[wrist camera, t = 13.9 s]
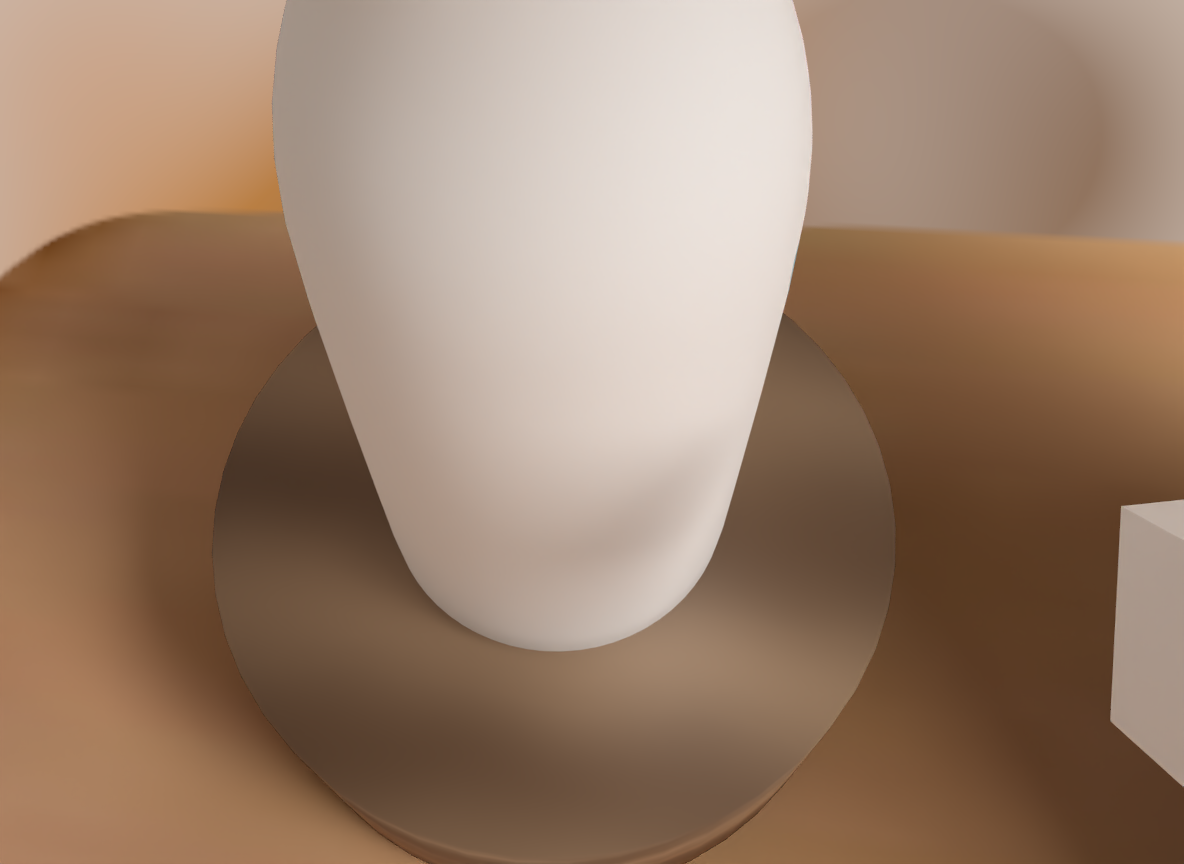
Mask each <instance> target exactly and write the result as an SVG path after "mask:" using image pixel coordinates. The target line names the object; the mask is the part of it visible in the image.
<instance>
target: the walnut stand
mask: <svg viewBox="0 0 1184 864" xmlns="http://www.w3.org/2000/svg"><path fill="white" fill-rule="evenodd" d="M895 534H896V525H895V517H894V510H893V502H892V495H891V487H890V483H889V479H888V475H887V472H886V468H885V465H884V461H883V458H882V454H881V450H880V447H879V445H878V442H877V440H876V438H875V435H874V433H873V431H872V428H871V426H870V424H869V422H868V419H867V417H866V415H865V412H864V410H863V409H862V407H861V405H860V404H859V402H858V400H857V399H856V397H855V395H854V394H853V392H852V390H851V389H850V387H849V385H848V384H847V382H846V380H845V379H844V377H843V376H842V375H841V373H840V372H839V371H838V370H837V368H836V367H835V366H834V365H833V363H832V362H831V361H830V360H829V358H828V357H827V356H826V354H825V353H824V352H823V351H822V349H821V348H820V347H819V346H818V345H817V344H816V343H815V342H814V341H813V340H812V339H811V338H810V337H809V336H808V335H807V334H806V333H805V332H804V331H803V330H802V329H801V328H800V327H799V326H798V325H797V324H796V323H795V322H794V321H793V320H791V319H790V318H789V317H787V316H786V315H785V314H784V313H783V314H782V318H781V321H780V325H779V329H778V333H777V336H776V340H775V344H774V348H773V351H772V355H771V359H770V363H769V366H768V370H767V374H766V378H765V381H764V385H763V389H762V393H761V396H760V400H759V403H758V407H757V410H756V414H755V417H754V421H753V425H752V428H751V432H750V435H749V439H748V442H747V446H746V449H745V453H744V456H743V460H742V463H741V467H740V470H739V474H738V478H737V481H736V485H735V488H734V492H733V495H732V498H731V502H730V505H729V509H728V512H727V516H726V519H725V522H724V526H723V529H722V532H721V534H720V537H719V540H718V542H717V545H716V547H715V550H714V552H713V555H712V557H711V560H710V561H709V563H708V565H707V567H706V569H705V571H704V573H703V574H702V576H701V577H700V579H699V580H698V582H697V583H696V584H695V586H694V587H693V588H692V589H691V591H690V592H689V593H688V594H687V595H686V597H685V598H684V599H683V600H682V601H681V602H680V603H679V604H678V605H676V606H675V607H674V608H673V609H672V610H671V611H670V612H668V613H667V614H666V615H665V616H663V617H662V618H661V619H660V620H658V621H656V622H655V623H653V624H652V625H650V626H648V627H647V628H645V629H643V630H641V631H639V632H637V633H635V634H633V635H631V636H629V637H627V638H624V639H621V640H619V641H616V642H614V643H610V644H606V645H603V646H599V647H595V648H589V649H583V650H575V651H538V650H529V649H524V648H519V647H514V646H510V645H507V644H504V643H500V642H497V641H494V640H492V639H489V638H487V637H485V636H482V635H480V634H478V633H476V632H474V631H472V630H471V629H469V628H467V627H465V626H463V625H462V624H460V623H459V622H458V621H456V620H455V619H453V618H452V617H450V616H449V615H448V614H447V613H446V612H444V611H443V610H442V609H441V608H440V607H439V606H437V605H436V603H435V602H434V601H433V600H432V599H431V598H430V597H429V596H428V595H427V594H426V593H425V591H424V590H423V589H422V587H421V586H420V585H419V584H418V582H417V581H416V579H415V577H414V576H413V574H412V573H411V571H410V569H409V567H408V565H407V563H406V561H405V559H404V557H403V555H402V552H401V550H400V548H399V546H398V544H397V542H396V540H395V537H394V535H393V532H392V530H391V527H390V524H389V522H388V519H387V516H386V514H385V511H384V509H383V506H382V503H381V501H380V498H379V495H378V493H377V490H376V487H375V485H374V482H373V479H372V477H371V474H370V471H369V468H368V466H367V463H366V460H365V458H364V455H363V452H362V450H361V447H360V444H359V442H358V439H357V436H356V433H355V431H354V428H353V425H352V423H351V420H350V417H349V414H348V412H347V409H346V406H345V403H344V400H343V397H342V395H341V392H340V389H339V386H338V383H337V380H336V378H335V375H334V372H333V369H332V366H331V364H330V361H329V358H328V355H327V352H326V349H325V347H324V344H323V341H322V338H321V335H320V332H319V330H318V327H317V326H316V327H315V328H314V329H313V330H312V331H311V332H310V333H308V334H307V335H306V336H305V337H304V338H303V339H302V340H301V341H300V342H299V343H298V345H297V346H296V347H295V348H294V349H293V350H292V351H291V352H290V354H289V355H288V356H287V357H286V358H285V359H284V360H283V361H282V362H281V364H280V365H279V366H278V367H277V369H276V370H275V371H274V373H273V374H272V376H271V377H270V379H269V380H268V381H267V383H266V384H265V386H264V387H263V389H262V390H261V392H260V393H259V394H258V396H257V397H256V399H255V401H254V402H253V404H252V406H251V408H250V410H249V412H248V414H247V416H246V418H245V420H244V422H243V424H242V426H241V427H240V429H239V431H238V433H237V436H236V438H235V441H234V444H233V447H232V449H231V452H230V455H229V458H228V460H227V463H226V466H225V469H224V471H223V476H222V481H221V485H220V490H219V495H218V499H217V504H216V509H215V518H214V533H213V548H212V556H213V569H214V582H215V594H216V599H217V603H218V607H219V612H220V616H221V620H222V624H223V629H224V633H225V637H226V639H227V642H228V644H229V647H230V649H231V652H232V654H233V657H234V659H235V662H236V664H237V667H238V670H239V672H240V675H241V677H242V679H243V680H244V682H245V684H246V685H247V687H248V689H249V691H250V692H251V694H252V696H253V697H254V699H255V701H256V703H257V704H258V706H259V708H260V709H261V711H262V713H263V715H264V716H265V717H266V719H267V720H268V721H269V722H270V724H271V725H272V726H273V727H274V728H275V730H276V731H277V732H278V733H279V735H280V736H281V737H282V738H283V740H284V741H285V742H286V743H287V745H288V746H289V747H290V748H291V749H292V751H293V752H294V753H295V754H296V755H297V756H298V757H299V758H300V759H301V760H302V761H303V762H304V763H305V764H306V765H307V766H308V767H309V768H311V769H312V770H313V771H314V772H315V773H316V774H317V775H318V776H319V777H320V778H321V779H322V780H323V781H324V782H325V783H326V784H327V785H328V786H329V787H330V788H331V789H332V790H333V791H334V792H335V793H336V794H337V795H338V796H339V797H340V798H341V799H342V800H343V801H344V802H345V803H346V804H347V805H348V806H350V807H351V808H352V809H353V810H354V811H355V812H356V813H357V814H358V815H359V816H360V817H362V818H363V819H364V820H365V821H366V822H367V823H368V824H369V825H370V826H371V827H372V828H374V829H375V830H376V831H377V832H378V833H380V834H381V835H383V836H384V837H385V838H387V839H388V840H390V841H391V842H393V843H394V844H396V845H397V846H399V847H400V848H402V849H403V850H405V851H406V852H408V853H409V854H411V855H412V856H415V857H417V858H419V859H421V860H423V861H425V862H427V863H429V864H684V863H687V862H689V861H691V860H693V859H694V858H696V857H698V856H699V855H701V854H703V853H704V852H706V851H708V850H709V849H711V848H713V847H714V846H716V845H718V844H719V843H721V842H723V841H724V840H726V839H727V838H728V837H729V836H731V835H732V834H733V833H734V832H736V831H737V830H738V829H739V828H740V827H742V826H743V825H744V824H745V823H747V822H748V821H749V820H750V819H751V818H753V817H754V816H755V815H756V814H757V813H758V812H759V811H760V810H761V809H762V808H763V807H764V806H765V805H766V804H767V803H768V801H769V800H770V799H771V798H772V797H773V796H774V795H775V794H776V793H777V792H778V791H779V789H780V788H781V787H782V786H783V785H784V784H785V783H786V781H787V780H788V779H789V778H790V776H791V775H792V774H793V773H794V772H795V770H796V769H797V768H798V767H799V765H800V764H801V763H802V762H803V760H804V759H805V758H806V757H807V756H808V754H809V753H810V752H811V751H812V749H813V748H814V747H815V746H816V744H817V743H818V742H819V741H820V740H821V738H822V737H823V736H824V735H825V733H826V732H827V731H828V730H829V728H830V727H831V726H832V724H833V723H834V721H835V720H836V718H837V717H838V715H839V714H840V712H841V711H842V710H843V708H844V707H845V705H846V704H847V702H848V701H849V699H850V698H851V696H852V695H853V693H854V692H855V691H856V689H857V687H858V685H859V683H860V681H861V678H862V676H863V674H864V672H865V670H866V668H867V666H868V664H869V662H870V660H871V658H872V656H873V654H874V652H875V650H876V647H877V643H878V640H879V637H880V634H881V631H882V627H883V624H884V621H885V618H886V615H887V611H888V608H889V602H890V596H891V589H892V583H893V577H894V571H895Z"/></svg>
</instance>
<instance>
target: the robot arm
mask: <svg viewBox="0 0 1184 864" xmlns="http://www.w3.org/2000/svg"><path fill="white" fill-rule="evenodd" d="M1110 721H1111V722H1112V723H1113V724H1114V725H1115V726H1116V727H1117V728H1119V729H1120V730H1121V731H1122V732H1123V733H1124V734H1125V735H1126V736H1127V737H1128V738H1130V739H1131V740H1132V741H1133V742H1134V743H1135V744H1136V745H1137V746H1138V747H1140V748H1141V749H1142V750H1143V751H1144V752H1145V753H1146V754H1147V755H1148V756H1150V757H1151V758H1152V759H1153V760H1154V761H1155V762H1156V763H1157V764H1158V765H1159V766H1161V767H1162V768H1163V769H1164V770H1165V771H1166V772H1167V773H1168V774H1169V775H1171V776H1172V777H1173V778H1174V779H1175V780H1176V781H1177V782H1178V783H1179V784H1181V785H1182V786H1183V787H1184V500H1175V501H1165V502H1156V503H1147V504H1137V505H1128V506H1121V520H1120V540H1119V559H1118V579H1117V599H1116V618H1115V638H1114V658H1113V678H1112V697H1111V717H1110Z"/></svg>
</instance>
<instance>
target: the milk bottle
mask: <svg viewBox="0 0 1184 864" xmlns="http://www.w3.org/2000/svg"><path fill="white" fill-rule="evenodd" d="M272 114H273V140H274V159H275V165H276V171H277V177H278V183H279V189H280V195H281V201H282V207H283V212H284V217H285V223H286V226H287V230H288V233H289V236H290V240H291V243H292V247H293V250H294V253H295V257H296V260H297V263H298V267H299V270H300V273H301V277H302V280H303V283H304V287H305V290H306V293H307V297H308V300H309V303H310V306H311V309H312V312H313V315H314V318H315V321H316V324H317V327H318V330H319V332H320V335H321V338H322V341H323V344H324V347H325V349H326V352H327V355H328V358H329V361H330V364H331V366H332V369H333V372H334V375H335V378H336V380H337V383H338V386H339V389H340V392H341V395H342V397H343V400H344V403H345V406H346V409H347V412H348V414H349V417H350V420H351V423H352V425H353V428H354V431H355V433H356V436H357V439H358V442H359V444H360V447H361V450H362V452H363V455H364V458H365V460H366V463H367V466H368V468H369V471H370V474H371V477H372V479H373V482H374V485H375V487H376V490H377V493H378V495H379V498H380V501H381V503H382V506H383V509H384V511H385V514H386V516H387V519H388V522H389V524H390V527H391V530H392V532H393V535H394V537H395V540H396V542H397V544H398V546H399V548H400V550H401V552H402V555H403V557H404V559H405V561H406V563H407V565H408V567H409V569H410V571H411V573H412V574H413V576H414V577H415V579H416V581H417V582H418V584H419V585H420V586H421V587H422V589H423V590H424V591H425V593H426V594H427V595H428V596H429V597H430V598H431V599H432V600H433V601H434V602H435V603H436V605H437V606H439V607H440V608H441V609H442V610H443V611H444V612H446V613H447V614H448V615H449V616H450V617H452V618H453V619H455V620H456V621H458V622H459V623H460V624H462V625H463V626H465V627H467V628H469V629H471V630H472V631H474V632H476V633H478V634H480V635H482V636H485V637H487V638H489V639H492V640H494V641H497V642H500V643H504V644H507V645H510V646H514V647H519V648H524V649H529V650H538V651H575V650H583V649H589V648H595V647H599V646H603V645H606V644H610V643H614V642H616V641H619V640H621V639H624V638H627V637H629V636H631V635H633V634H635V633H637V632H639V631H641V630H643V629H645V628H647V627H648V626H650V625H652V624H653V623H655V622H656V621H658V620H660V619H661V618H662V617H663V616H665V615H666V614H667V613H668V612H670V611H671V610H672V609H673V608H674V607H675V606H676V605H678V604H679V603H680V602H681V601H682V600H683V599H684V598H685V597H686V595H687V594H688V593H689V592H690V591H691V589H692V588H693V587H694V586H695V584H696V583H697V582H698V580H699V579H700V577H701V576H702V574H703V573H704V571H705V569H706V567H707V565H708V563H709V561H710V560H711V557H712V555H713V552H714V550H715V547H716V545H717V542H718V540H719V537H720V534H721V532H722V529H723V526H724V522H725V519H726V516H727V512H728V509H729V505H730V502H731V498H732V495H733V492H734V488H735V485H736V481H737V478H738V474H739V470H740V467H741V463H742V460H743V456H744V453H745V449H746V446H747V442H748V439H749V435H750V432H751V428H752V425H753V421H754V417H755V414H756V410H757V407H758V403H759V400H760V396H761V393H762V389H763V385H764V381H765V378H766V374H767V370H768V366H769V363H770V359H771V355H772V351H773V348H774V344H775V340H776V336H777V333H778V329H779V325H780V321H781V318H782V314H783V310H784V306H785V303H786V299H787V295H788V291H789V287H790V283H791V278H792V273H793V269H794V264H795V259H796V255H797V250H798V245H799V241H800V236H801V231H802V227H803V222H804V217H805V212H806V206H807V198H808V191H809V180H810V168H811V157H812V104H811V89H810V80H809V73H808V66H807V61H806V54H805V47H804V41H803V37H802V33H801V29H800V25H799V22H798V18H797V14H796V11H795V7H794V3H793V0H287V1H286V5H285V10H284V14H283V19H282V24H281V29H280V34H279V39H278V44H277V50H276V62H275V74H274V86H273V97H272Z"/></svg>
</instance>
